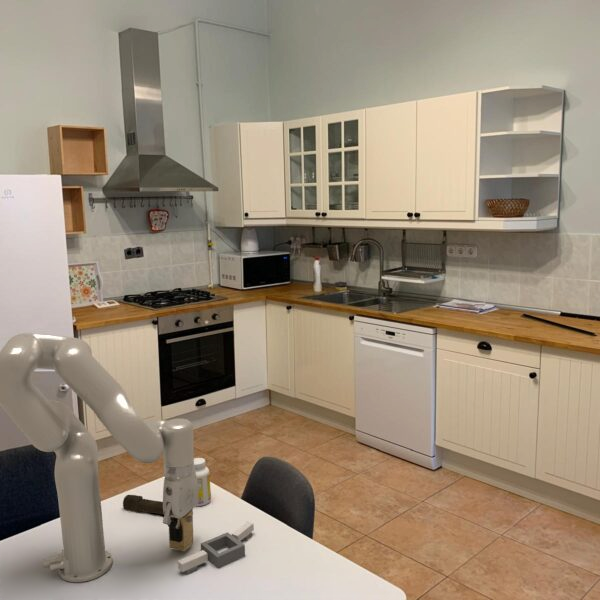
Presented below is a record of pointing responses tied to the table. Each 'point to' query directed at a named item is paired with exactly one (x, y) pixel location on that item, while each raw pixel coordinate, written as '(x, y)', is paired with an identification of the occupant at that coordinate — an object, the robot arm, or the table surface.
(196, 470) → the supplement bottle
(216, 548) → the socket
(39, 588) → the table surface
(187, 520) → the tan wooden block
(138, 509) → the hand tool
